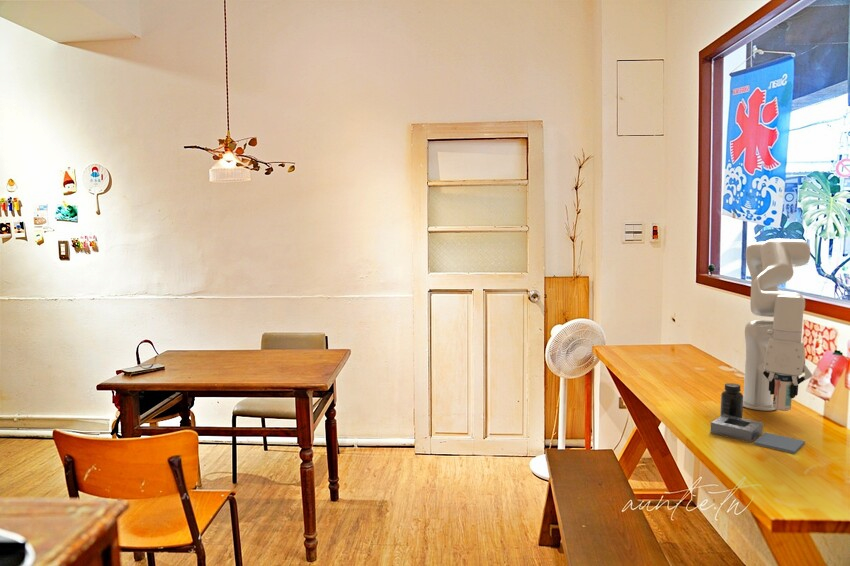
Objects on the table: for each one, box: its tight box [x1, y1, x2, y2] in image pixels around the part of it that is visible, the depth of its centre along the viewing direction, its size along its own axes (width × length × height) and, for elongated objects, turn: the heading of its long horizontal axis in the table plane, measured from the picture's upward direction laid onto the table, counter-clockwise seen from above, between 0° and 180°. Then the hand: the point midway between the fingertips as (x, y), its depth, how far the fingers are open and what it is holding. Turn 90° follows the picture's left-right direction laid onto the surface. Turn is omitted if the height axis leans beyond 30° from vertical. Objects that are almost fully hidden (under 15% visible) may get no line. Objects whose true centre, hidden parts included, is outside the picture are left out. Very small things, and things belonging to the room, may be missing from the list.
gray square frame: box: [709, 414, 764, 443], centre depth 199 cm, size 12×12×4 cm
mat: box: [753, 432, 806, 455], centre depth 190 cm, size 12×11×1 cm
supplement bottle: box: [719, 382, 744, 418], centre depth 213 cm, size 7×7×12 cm
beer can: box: [773, 373, 793, 412], centre depth 188 cm, size 5×5×12 cm
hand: (782, 394), depth 188 cm, fingers closed on beer can, 4 cm apart
